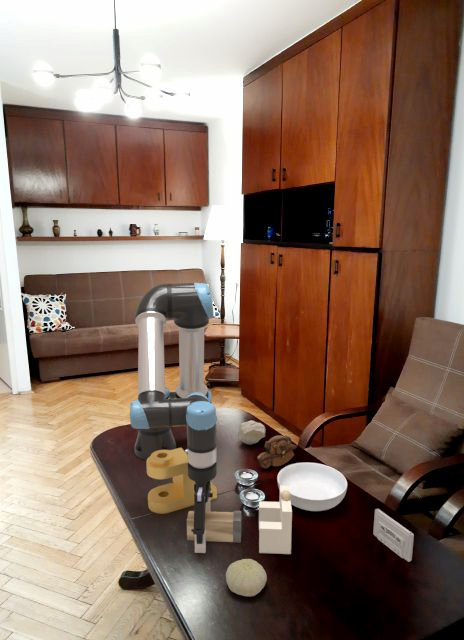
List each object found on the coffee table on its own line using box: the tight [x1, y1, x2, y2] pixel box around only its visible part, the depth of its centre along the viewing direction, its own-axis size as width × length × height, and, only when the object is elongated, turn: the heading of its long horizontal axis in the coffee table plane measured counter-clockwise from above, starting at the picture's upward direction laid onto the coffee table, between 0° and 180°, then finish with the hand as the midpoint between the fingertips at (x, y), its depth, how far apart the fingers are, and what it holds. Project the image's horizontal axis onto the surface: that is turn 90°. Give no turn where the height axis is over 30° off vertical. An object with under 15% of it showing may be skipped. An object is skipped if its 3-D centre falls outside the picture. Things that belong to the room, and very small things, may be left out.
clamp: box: [145, 447, 218, 515], centre depth 135 cm, size 20×9×16 cm, turn 118°
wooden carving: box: [256, 435, 298, 469], centre depth 155 cm, size 16×5×10 cm, turn 128°
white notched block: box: [258, 486, 293, 555], centre depth 118 cm, size 11×8×14 cm
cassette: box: [373, 508, 415, 563], centre depth 115 cm, size 12×2×8 cm, turn 29°
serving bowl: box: [276, 462, 348, 512], centre depth 136 cm, size 21×21×7 cm
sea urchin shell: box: [225, 558, 268, 597], centre depth 103 cm, size 9×8×8 cm
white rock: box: [237, 419, 267, 445], centre depth 169 cm, size 12×8×10 cm
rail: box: [186, 510, 242, 544], centre depth 119 cm, size 4×14×6 cm, turn 87°
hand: (203, 535), depth 120 cm, fingers open, 12 cm apart
